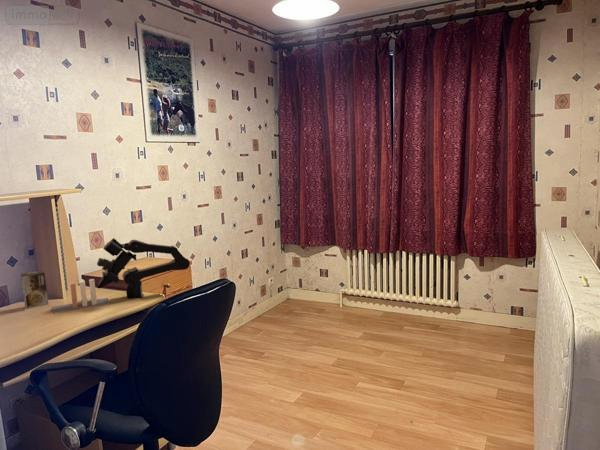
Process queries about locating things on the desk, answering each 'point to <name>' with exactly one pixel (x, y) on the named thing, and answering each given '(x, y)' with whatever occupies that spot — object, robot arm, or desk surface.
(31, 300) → the coffee box
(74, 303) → the domino
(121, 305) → the desk surface
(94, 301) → the domino
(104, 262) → the robot arm
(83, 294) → the domino
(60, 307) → the mat
